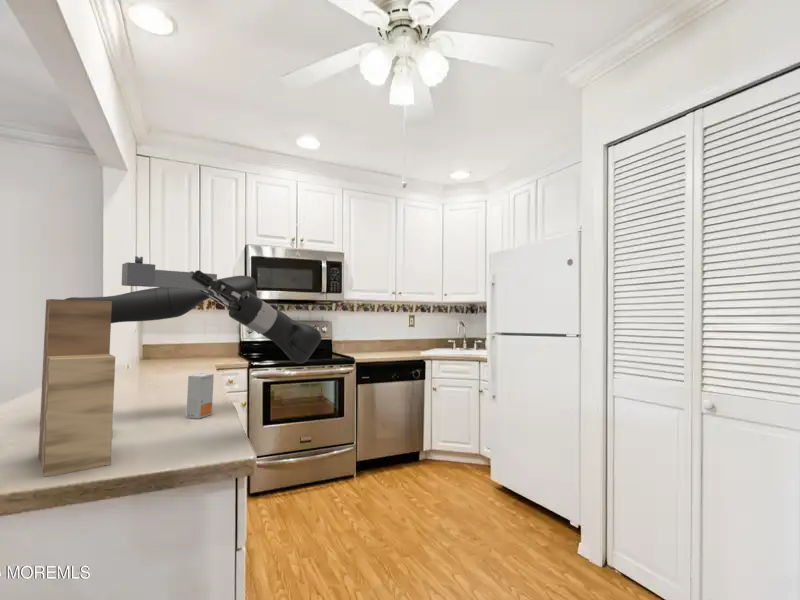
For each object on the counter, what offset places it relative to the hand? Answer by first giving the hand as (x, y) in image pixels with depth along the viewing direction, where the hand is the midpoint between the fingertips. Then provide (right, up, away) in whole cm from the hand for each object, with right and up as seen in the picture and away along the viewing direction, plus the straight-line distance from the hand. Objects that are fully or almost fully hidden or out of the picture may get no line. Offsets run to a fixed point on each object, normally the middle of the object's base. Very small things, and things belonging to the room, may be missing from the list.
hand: (191, 274), depth 98 cm
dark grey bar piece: (-3, -3, -3) cm, 5 cm away
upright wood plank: (-18, -38, -11) cm, 43 cm away
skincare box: (-11, -40, +26) cm, 49 cm away
